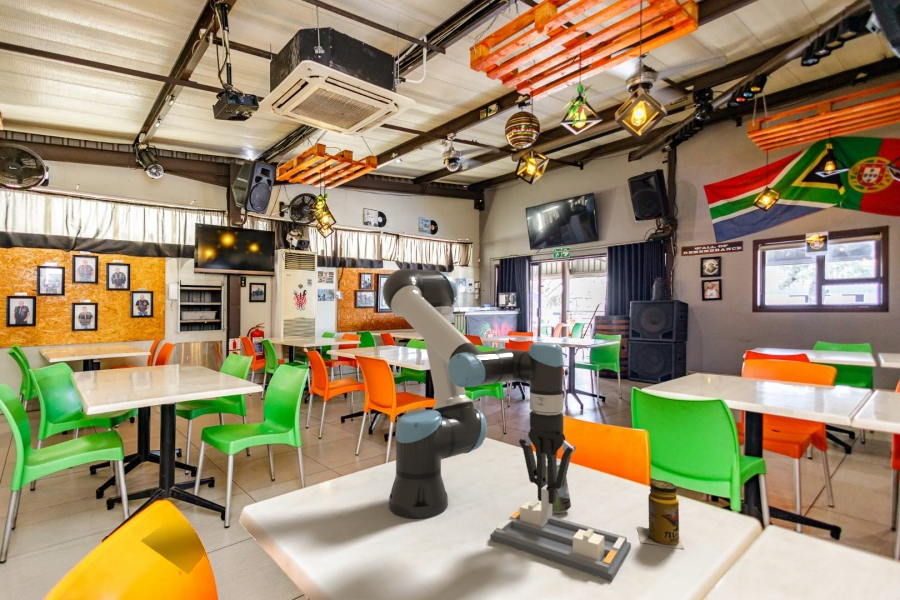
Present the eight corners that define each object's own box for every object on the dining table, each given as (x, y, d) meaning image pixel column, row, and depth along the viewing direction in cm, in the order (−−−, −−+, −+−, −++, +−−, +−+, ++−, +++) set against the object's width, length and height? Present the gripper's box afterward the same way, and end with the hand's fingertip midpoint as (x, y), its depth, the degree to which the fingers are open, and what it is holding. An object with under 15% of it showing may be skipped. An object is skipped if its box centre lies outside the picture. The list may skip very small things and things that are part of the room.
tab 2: (520, 522, 103) (519, 503, 103) (527, 516, 106) (527, 497, 106) (540, 529, 100) (540, 509, 100) (547, 522, 103) (547, 502, 103)
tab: (572, 555, 89) (572, 533, 89) (579, 546, 92) (579, 525, 92) (598, 563, 86) (598, 540, 86) (604, 554, 89) (604, 532, 89)
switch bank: (490, 539, 98) (490, 528, 98) (519, 516, 109) (519, 506, 109) (612, 581, 83) (612, 568, 83) (630, 548, 94) (630, 537, 94)
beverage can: (571, 517, 109) (571, 467, 109) (541, 514, 110) (540, 465, 111) (570, 506, 115) (569, 459, 115) (541, 503, 116) (540, 457, 117)
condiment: (683, 549, 94) (683, 491, 94) (640, 543, 96) (639, 487, 97) (677, 533, 101) (676, 479, 101) (637, 527, 103) (636, 475, 104)
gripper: (513, 410, 102) (513, 514, 102) (568, 418, 95) (568, 531, 94) (527, 405, 109) (527, 503, 108) (580, 412, 101) (580, 517, 100)
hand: (546, 516), depth 101 cm, fingers closed
